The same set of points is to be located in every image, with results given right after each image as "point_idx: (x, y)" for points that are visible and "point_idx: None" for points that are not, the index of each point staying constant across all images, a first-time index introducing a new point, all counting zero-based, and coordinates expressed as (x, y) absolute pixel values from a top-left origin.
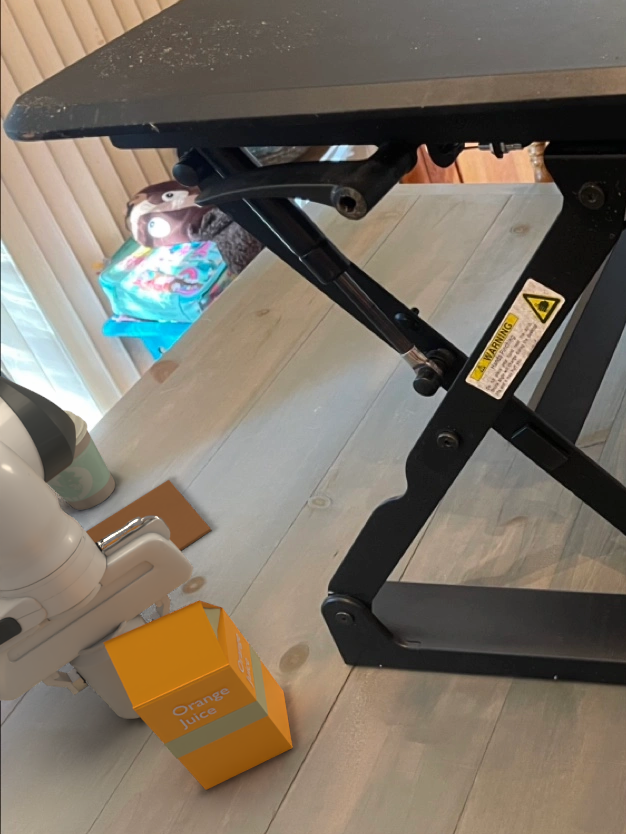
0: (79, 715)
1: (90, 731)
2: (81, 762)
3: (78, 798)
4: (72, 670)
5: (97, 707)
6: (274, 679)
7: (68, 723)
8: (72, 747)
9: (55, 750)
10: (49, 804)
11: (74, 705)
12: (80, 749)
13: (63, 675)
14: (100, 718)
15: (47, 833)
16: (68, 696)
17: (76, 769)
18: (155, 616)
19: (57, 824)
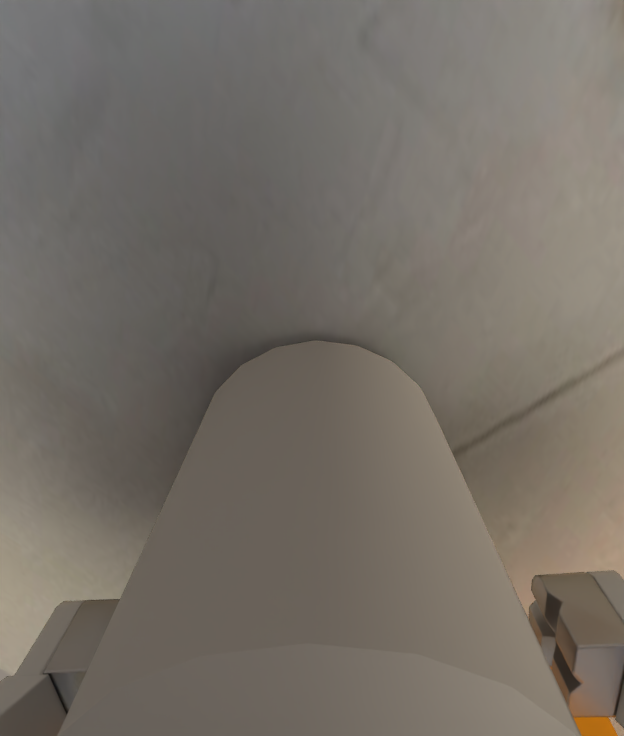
0: (90, 346)
1: (121, 434)
2: (89, 512)
3: (77, 597)
4: (81, 673)
5: (151, 361)
6: (614, 732)
7: (53, 350)
8: (65, 448)
9: (13, 421)
10: (4, 565)
11: (75, 288)
12: (88, 471)
13: (29, 733)
14: (155, 411)
15: (3, 626)
16: (53, 224)
17: (75, 522)
18: (599, 670)
19: (26, 621)
